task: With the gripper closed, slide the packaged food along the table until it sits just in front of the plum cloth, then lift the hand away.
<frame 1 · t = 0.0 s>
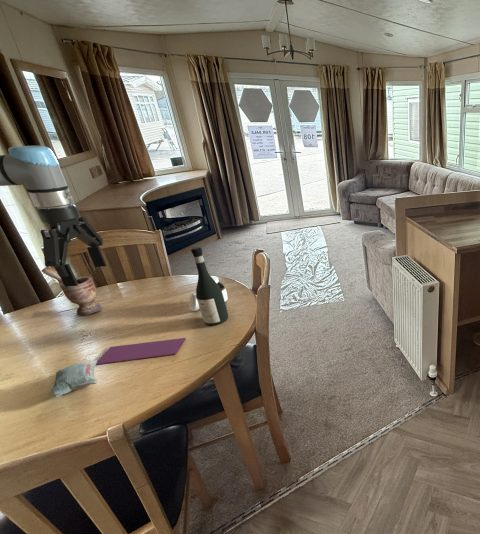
hand: (87, 275, 101), 28 cm above the table, tool pointing down, fingers open, 13 cm apart
packaged food: (81, 383, 99), on the table
mortar and pestle: (84, 312, 132), on the table
wine bottle: (217, 321, 129), on the table
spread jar: (209, 307, 138), on the table
cloth: (142, 351, 112), on the table
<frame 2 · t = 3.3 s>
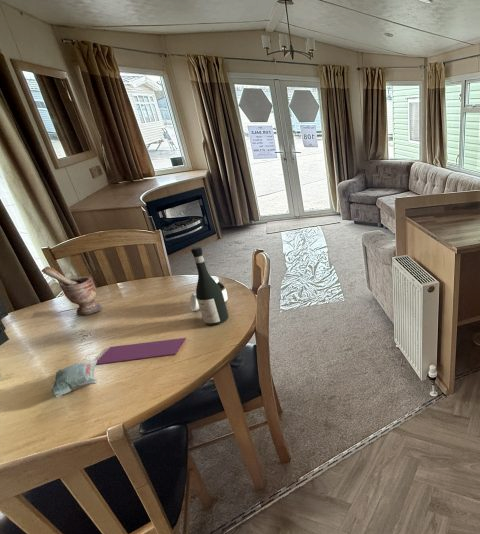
nothing on the table moved.
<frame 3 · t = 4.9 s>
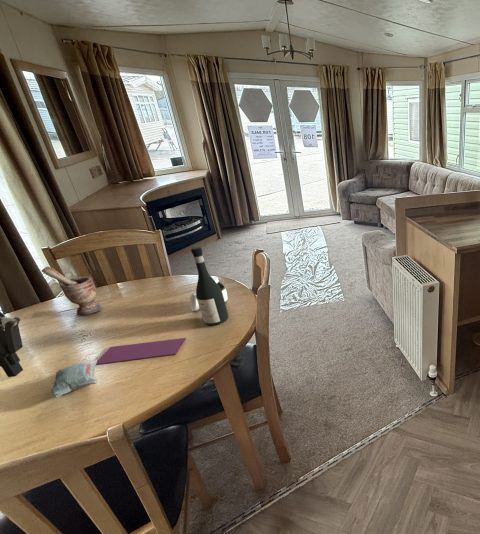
hand: (15, 373, 93), 6 cm above the table, tool pointing down, fingers closed
nothing on the table moved.
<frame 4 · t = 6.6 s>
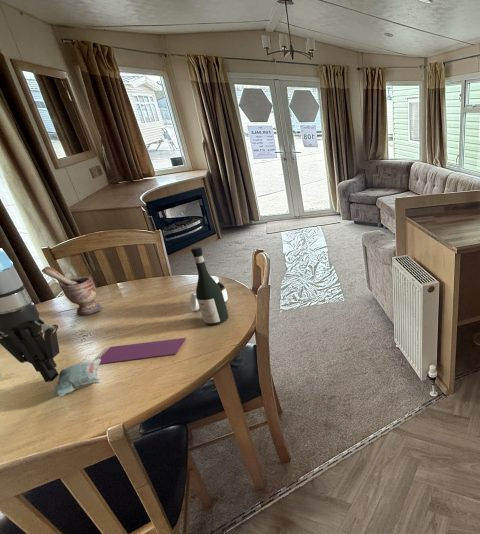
hand: (52, 378, 96), 3 cm above the table, tool pointing down, fingers closed
packaged food: (84, 382, 99), on the table, touching gripper
everything else where it was.
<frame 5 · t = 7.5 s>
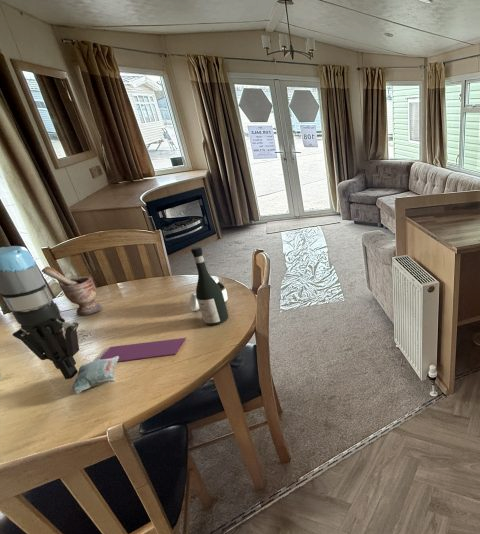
hand: (71, 375, 97), 3 cm above the table, tool pointing down, fingers closed
packaged food: (101, 379, 100), on the table, touching gripper
everything else where it was.
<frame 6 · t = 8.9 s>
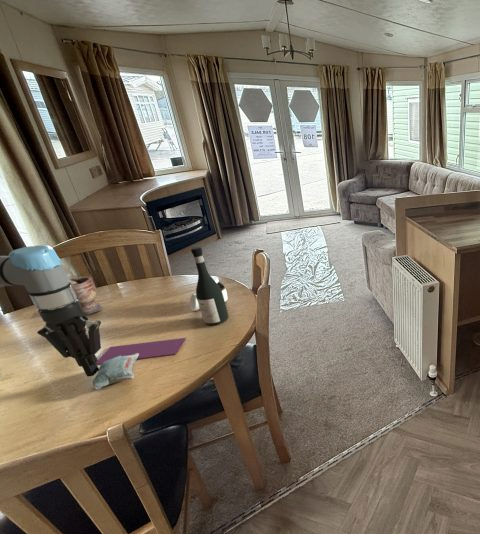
hand: (93, 373, 98), 3 cm above the table, tool pointing down, fingers closed
packaged food: (121, 376, 102), on the table, touching gripper
everything else where it was.
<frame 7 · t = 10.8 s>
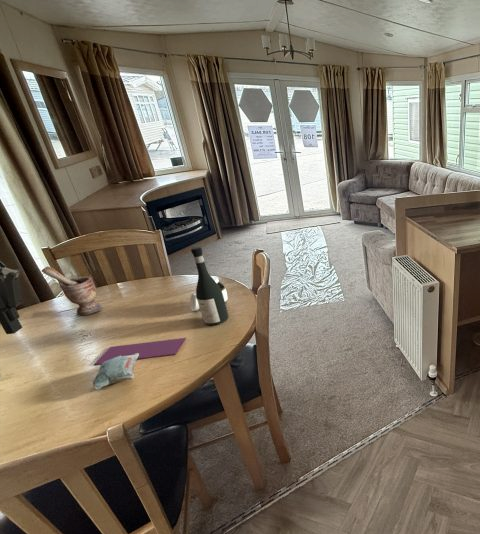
hand: (14, 330, 87), 21 cm above the table, tool pointing down, fingers closed
packaged food: (121, 376, 102), on the table
everything else where it was.
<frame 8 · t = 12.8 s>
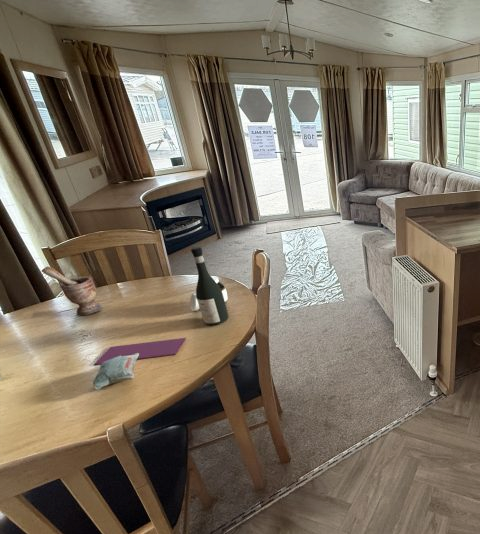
nothing on the table moved.
at the end: packaged food inside the target area on the table beside the cloth (1.2 cm from its centre), on the table; packaged food moved 9.6 cm from its start; the gripper is holding nothing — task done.
